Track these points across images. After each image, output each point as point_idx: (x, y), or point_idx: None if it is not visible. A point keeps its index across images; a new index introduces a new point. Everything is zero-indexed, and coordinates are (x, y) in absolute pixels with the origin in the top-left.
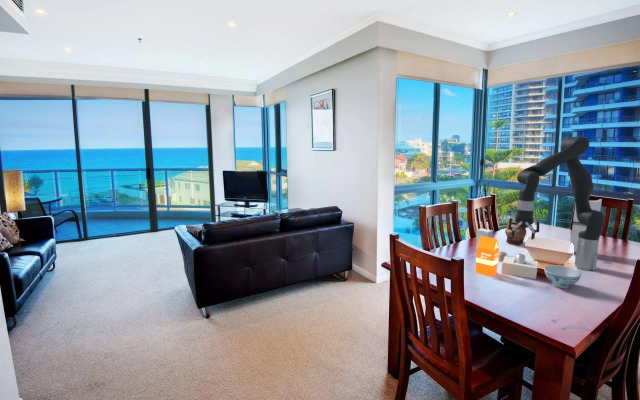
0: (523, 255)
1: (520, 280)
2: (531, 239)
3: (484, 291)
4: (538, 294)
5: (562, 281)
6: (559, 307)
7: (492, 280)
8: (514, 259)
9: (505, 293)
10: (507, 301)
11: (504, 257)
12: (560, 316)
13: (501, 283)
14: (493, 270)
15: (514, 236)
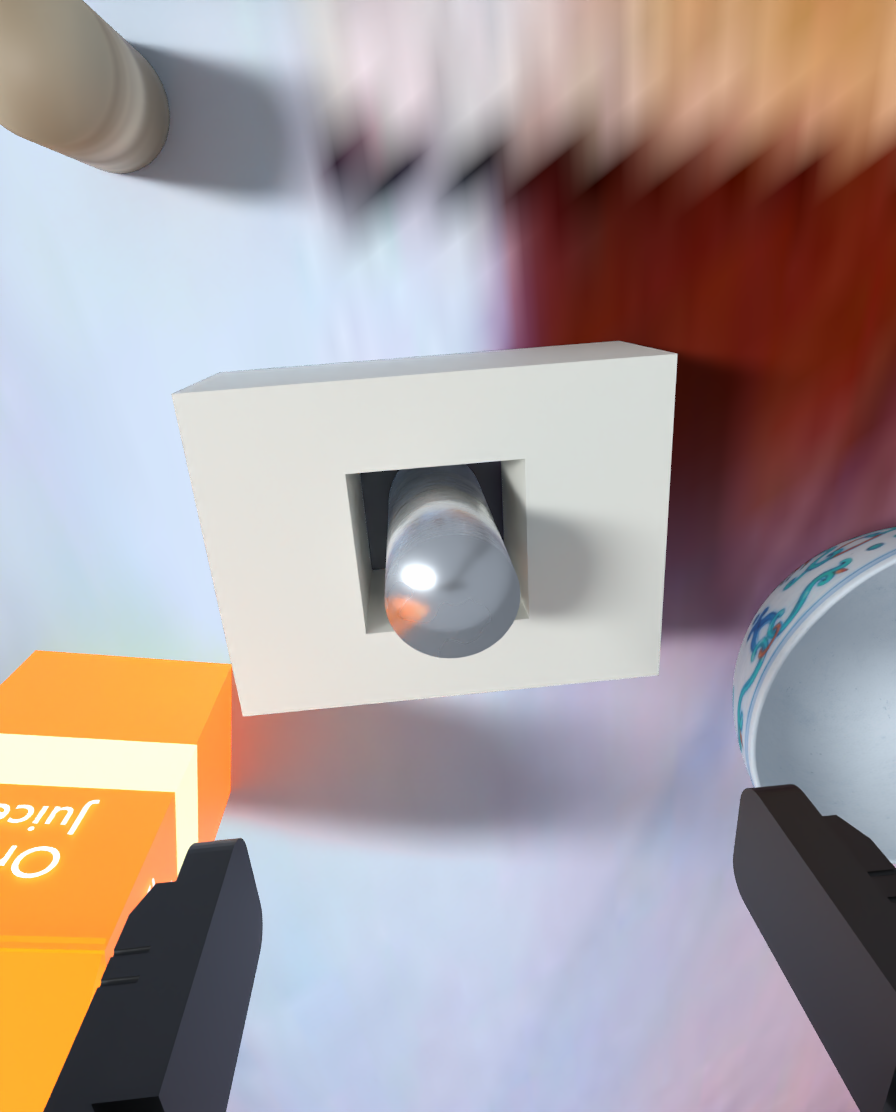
0: (492, 603)
1: (481, 722)
2: (744, 883)
3: (291, 1060)
4: (635, 903)
5: (868, 796)
6: (753, 998)
7: (267, 865)
8: (346, 473)
9: (424, 1011)
10: (460, 1094)
11: (192, 481)
12: (744, 1084)
13: (351, 878)
14: (215, 811)
15: (244, 872)
